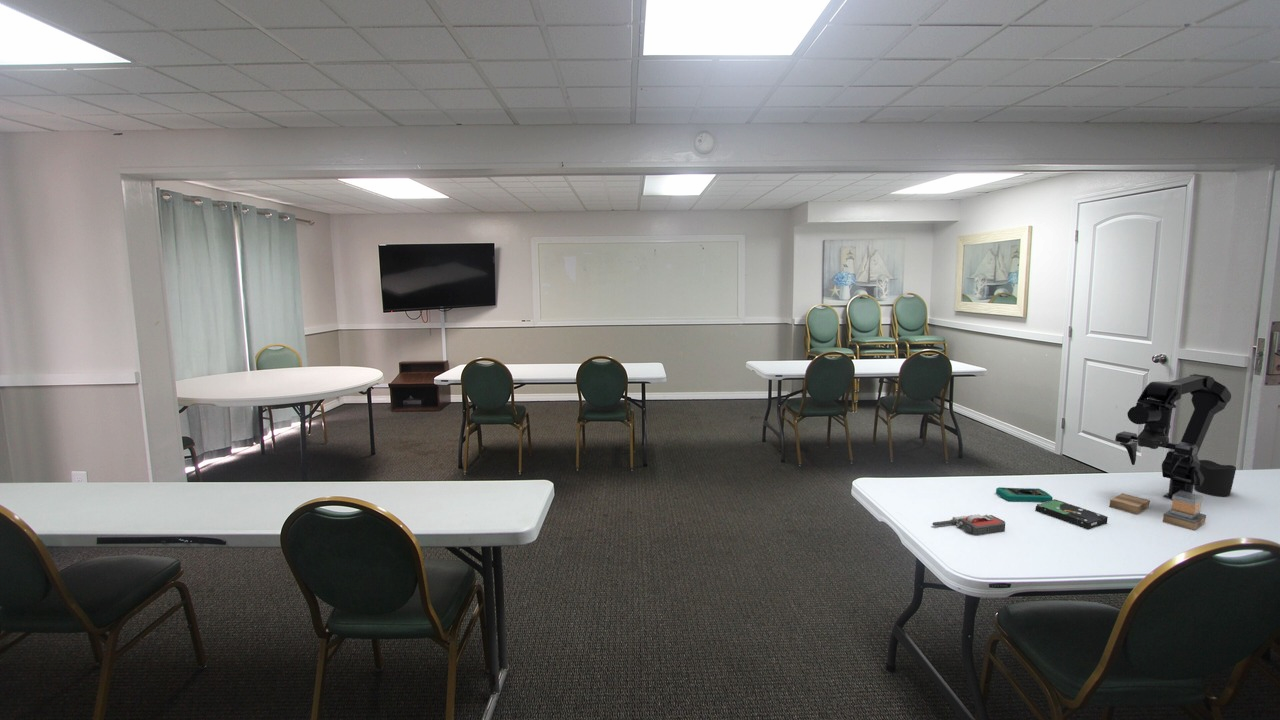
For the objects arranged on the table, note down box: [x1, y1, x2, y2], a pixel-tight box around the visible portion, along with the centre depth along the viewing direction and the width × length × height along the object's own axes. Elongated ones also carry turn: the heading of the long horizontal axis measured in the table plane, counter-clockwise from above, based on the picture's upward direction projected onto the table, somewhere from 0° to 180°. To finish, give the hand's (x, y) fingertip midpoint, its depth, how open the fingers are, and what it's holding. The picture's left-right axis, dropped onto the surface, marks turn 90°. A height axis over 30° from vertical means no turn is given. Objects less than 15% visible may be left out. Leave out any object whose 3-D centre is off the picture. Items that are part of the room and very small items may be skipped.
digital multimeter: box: [995, 486, 1054, 503], centre depth 185 cm, size 7×15×3 cm, turn 87°
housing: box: [1170, 490, 1204, 520], centre depth 166 cm, size 7×5×6 cm
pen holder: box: [1193, 459, 1237, 498], centre depth 191 cm, size 9×9×10 cm
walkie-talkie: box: [932, 513, 1006, 537], centre depth 162 cm, size 9×4×20 cm
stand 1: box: [1108, 493, 1151, 515], centre depth 178 cm, size 10×7×2 cm
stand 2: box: [1162, 509, 1207, 531], centre depth 167 cm, size 10×7×2 cm
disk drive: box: [1034, 498, 1109, 530], centre depth 171 cm, size 10×3×15 cm
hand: (1151, 468), depth 179 cm, fingers open, 9 cm apart
